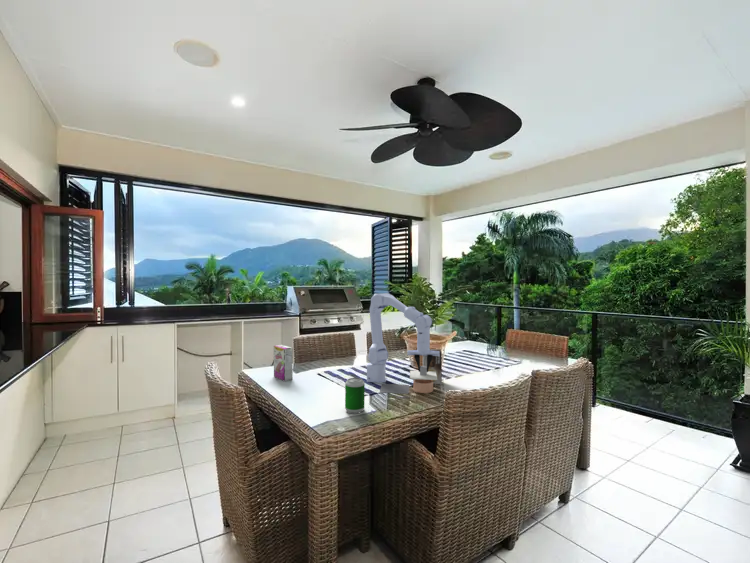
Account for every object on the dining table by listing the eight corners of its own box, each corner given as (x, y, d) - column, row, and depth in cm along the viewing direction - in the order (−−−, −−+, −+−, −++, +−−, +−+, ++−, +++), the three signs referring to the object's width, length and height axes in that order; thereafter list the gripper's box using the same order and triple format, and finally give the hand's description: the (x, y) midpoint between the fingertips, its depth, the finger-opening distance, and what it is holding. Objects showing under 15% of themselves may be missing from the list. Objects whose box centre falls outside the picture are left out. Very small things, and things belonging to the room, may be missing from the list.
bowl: (413, 393, 157) (413, 383, 157) (413, 387, 166) (413, 377, 166) (433, 394, 156) (433, 384, 156) (432, 388, 165) (432, 378, 165)
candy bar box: (273, 377, 182) (273, 345, 182) (281, 375, 186) (281, 344, 186) (284, 381, 174) (284, 348, 174) (293, 379, 178) (293, 347, 178)
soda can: (368, 410, 137) (368, 379, 137) (354, 416, 131) (354, 384, 131) (354, 405, 142) (354, 376, 142) (341, 410, 136) (341, 380, 136)
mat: (379, 393, 157) (379, 392, 157) (382, 384, 170) (382, 383, 170) (408, 394, 155) (408, 393, 155) (409, 385, 168) (409, 384, 168)
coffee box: (440, 381, 176) (440, 349, 176) (441, 385, 170) (442, 351, 170) (422, 380, 177) (422, 348, 177) (422, 384, 171) (423, 351, 171)
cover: (409, 378, 156) (410, 369, 156) (410, 371, 168) (410, 363, 168) (437, 379, 154) (437, 370, 154) (435, 372, 166) (435, 364, 166)
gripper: (407, 342, 158) (407, 373, 158) (440, 343, 156) (439, 374, 156) (407, 340, 165) (407, 369, 165) (439, 340, 163) (438, 370, 163)
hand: (423, 371), depth 161 cm, fingers closed on cover, 3 cm apart
